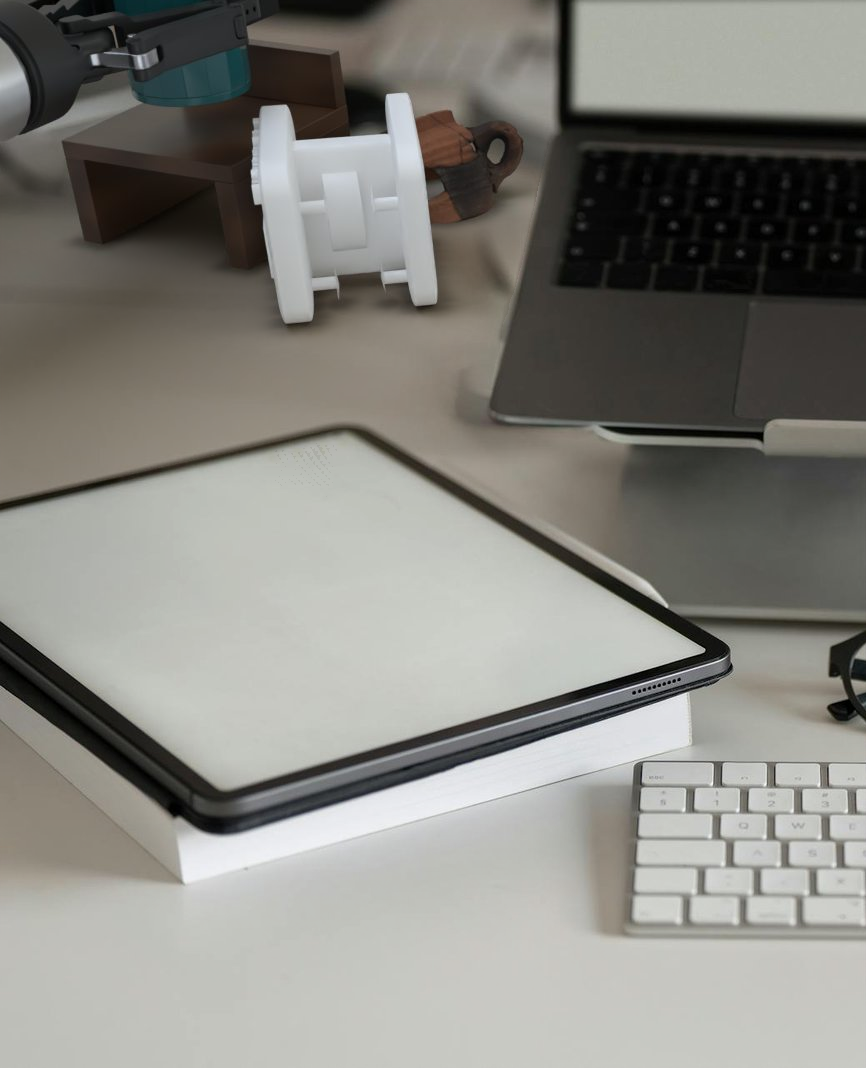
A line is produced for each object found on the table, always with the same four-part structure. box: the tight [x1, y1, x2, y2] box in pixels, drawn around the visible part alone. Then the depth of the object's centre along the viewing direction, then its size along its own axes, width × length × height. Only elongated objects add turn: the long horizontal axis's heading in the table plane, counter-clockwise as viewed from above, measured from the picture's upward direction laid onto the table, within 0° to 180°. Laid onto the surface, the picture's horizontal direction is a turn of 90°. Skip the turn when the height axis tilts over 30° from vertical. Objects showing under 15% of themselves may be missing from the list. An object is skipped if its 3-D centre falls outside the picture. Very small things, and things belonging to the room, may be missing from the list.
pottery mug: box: [379, 109, 525, 224], centre depth 129 cm, size 12×10×8 cm
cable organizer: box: [251, 92, 438, 325], centre depth 114 cm, size 15×11×12 cm
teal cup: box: [113, 0, 251, 107], centre depth 116 cm, size 8×8×11 cm
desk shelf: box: [61, 38, 351, 271], centre depth 123 cm, size 14×14×12 cm
